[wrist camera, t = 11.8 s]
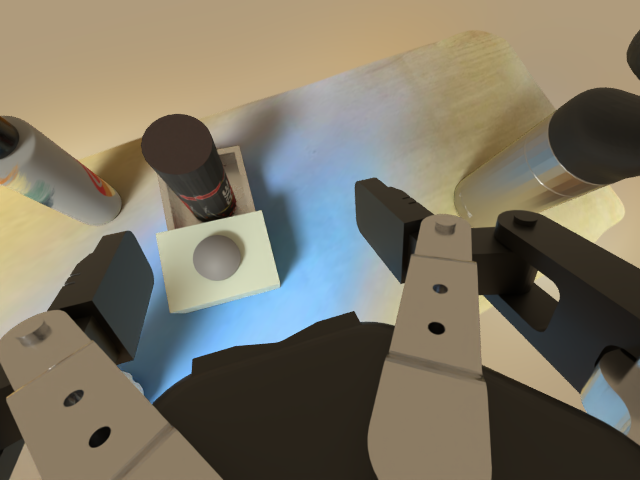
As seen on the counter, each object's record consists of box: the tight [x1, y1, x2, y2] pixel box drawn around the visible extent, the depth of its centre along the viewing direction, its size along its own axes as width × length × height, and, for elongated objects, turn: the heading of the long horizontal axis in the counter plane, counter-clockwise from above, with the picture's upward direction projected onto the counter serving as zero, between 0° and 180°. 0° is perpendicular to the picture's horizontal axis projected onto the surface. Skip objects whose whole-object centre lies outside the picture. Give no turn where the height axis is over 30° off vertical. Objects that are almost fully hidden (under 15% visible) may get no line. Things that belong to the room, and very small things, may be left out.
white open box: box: [157, 146, 255, 231], centre depth 41 cm, size 11×10×4 cm
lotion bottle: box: [0, 116, 121, 226], centre depth 31 cm, size 6×6×20 cm
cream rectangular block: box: [156, 210, 280, 313], centre depth 37 cm, size 12×9×7 cm
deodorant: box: [141, 114, 236, 223], centre depth 34 cm, size 6×6×15 cm
